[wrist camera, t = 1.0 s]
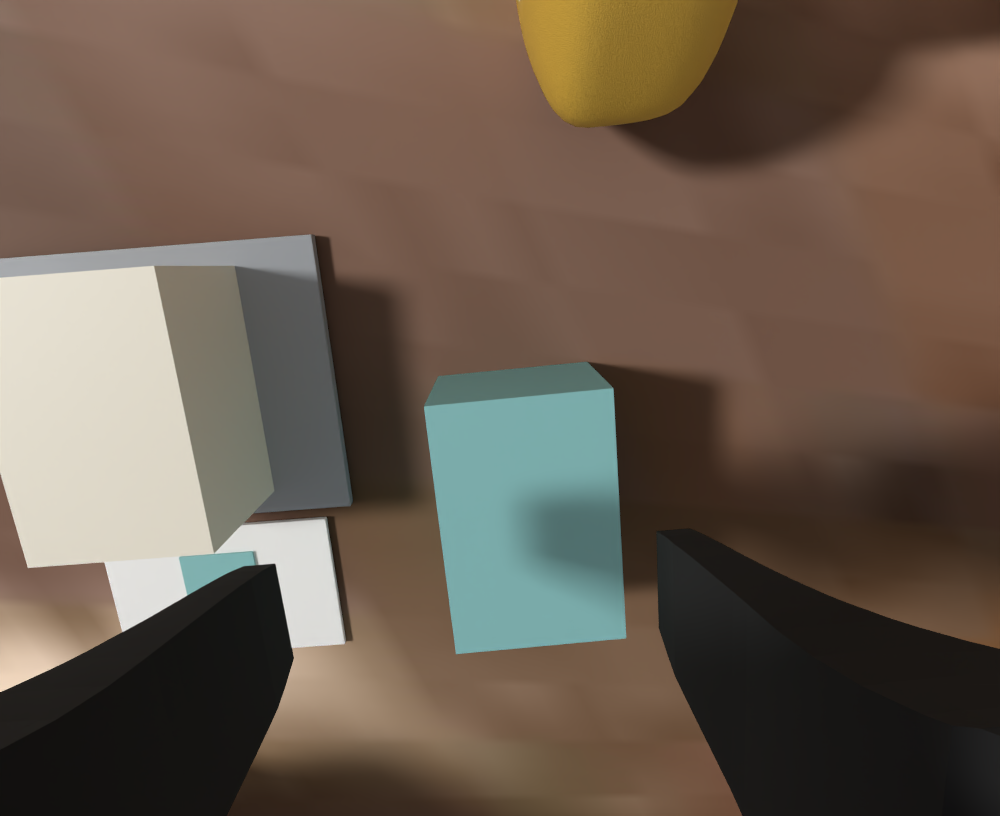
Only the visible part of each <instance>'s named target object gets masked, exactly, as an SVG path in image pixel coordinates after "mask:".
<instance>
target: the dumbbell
mask: <svg viewBox="0 0 1000 816" xmlns="http://www.w3.org/2000/svg"><path fill="white" fill-rule="evenodd" d="M516 2H517V8H518V14H519V19H520V25H521V30H522V34H523V38H524V42H525V46H526V50H527V53H528V56H529V59H530V62H531V65H532V68H533V71H534V73H535V75H536V78H537V80H538V82H539V84H540V87H541V89H542V91H543V93H544V96H545V97H546V99H547V101H548V102H549V104H550V106H551V107H552V109H553V110H554V111H555V112H556V113H557V114H558V115H559V116H560V117H561V118H562V119H563V120H564V121H565V122H567V123H569V124H571V125H573V126H575V127H586V128H590V127H600V126H610V125H620V124H628V123H634V122H640V121H646V120H650V119H654V118H657V117H660V116H663V115H667V114H668V113H670V112H671V111H673V110H675V109H676V108H678V107H680V106H681V105H682V104H683V103H684V102H685V101H686V100H687V99H688V97H689V96H690V95H691V94H692V93H693V91H694V90H695V89H696V88H697V87H698V86H699V84H700V83H701V82H702V80H703V78H704V76H705V74H706V73H707V71H708V69H709V67H710V65H711V64H712V62H713V60H714V58H715V56H716V54H717V53H718V50H719V48H720V46H721V43H722V41H723V39H724V36H725V34H726V31H727V29H728V26H729V23H730V21H731V18H732V15H733V13H734V10H735V7H736V5H737V2H738V0H516Z"/></svg>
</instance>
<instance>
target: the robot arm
mask: <svg viewBox="0 0 1000 816" xmlns="http://www.w3.org/2000/svg"><path fill="white" fill-rule="evenodd" d="M657 572H658V612H659V630H660V633H661V636H662V639H663V642H664V645H665V648H666V651H667V654H668V657H669V660H670V663H671V666H672V668H673V671H674V674H675V677H676V679H677V681H678V683H679V685H680V687H681V689H682V691H683V693H684V695H685V698H686V700H687V702H688V704H689V706H690V708H691V710H692V712H693V714H694V716H695V718H696V720H697V722H698V724H699V726H700V728H701V730H702V732H703V734H704V736H705V738H706V740H707V742H708V744H709V746H710V748H711V750H712V752H713V754H714V756H715V758H716V761H717V763H718V765H719V767H720V769H721V771H722V773H723V775H724V777H725V779H726V781H727V783H728V785H729V787H730V789H731V791H732V793H733V795H734V798H735V800H736V802H737V804H738V807H739V809H740V811H741V813H742V816H1000V649H998V648H993V647H989V646H985V645H981V644H977V643H973V642H969V641H965V640H961V639H958V638H954V637H951V636H947V635H944V634H940V633H937V632H933V631H930V630H926V629H922V628H919V627H915V626H912V625H909V624H906V623H903V622H900V621H897V620H893V619H890V618H887V617H885V616H882V615H879V614H876V613H873V612H871V611H868V610H865V609H862V608H860V607H857V606H854V605H851V604H849V603H846V602H843V601H841V600H838V599H836V598H833V597H831V596H828V595H826V594H824V593H821V592H819V591H817V590H815V589H812V588H810V587H808V586H806V585H803V584H801V583H799V582H797V581H794V580H792V579H790V578H788V577H786V576H784V575H782V574H780V573H778V572H775V571H773V570H771V569H769V568H767V567H765V566H763V565H761V564H759V563H758V562H756V561H754V560H752V559H750V558H748V557H746V556H744V555H742V554H740V553H738V552H736V551H734V550H733V549H731V548H729V547H727V546H725V545H723V544H721V543H719V542H717V541H715V540H713V539H711V538H709V537H708V536H706V535H703V534H701V533H699V532H697V531H695V530H692V529H677V530H665V531H657ZM293 659H294V657H293V651H292V646H291V641H290V636H289V631H288V626H287V621H286V615H285V610H284V605H283V600H282V595H281V590H280V585H279V579H278V574H277V569H276V564H264V565H252V566H243V567H240V568H238V569H236V570H233V571H231V572H229V573H227V574H225V575H223V576H221V577H219V578H217V579H215V580H214V581H212V582H210V583H208V584H206V585H205V586H203V587H201V588H199V589H198V590H196V591H194V592H192V593H191V594H189V595H187V596H186V597H184V598H182V599H180V600H179V601H177V602H175V603H173V604H172V605H170V606H168V607H167V608H165V609H163V610H161V611H160V612H158V613H156V614H154V615H153V616H151V617H149V618H148V619H146V620H144V621H142V622H140V623H138V624H137V625H135V626H133V627H131V628H129V629H127V630H126V631H124V632H122V633H120V634H118V635H116V636H115V637H113V638H111V639H109V640H107V641H105V642H104V643H102V644H100V645H98V646H96V647H94V648H92V649H91V650H89V651H87V652H85V653H83V654H81V655H79V656H77V657H75V658H73V659H71V660H69V661H67V662H65V663H63V664H61V665H59V666H57V667H55V668H53V669H51V670H49V671H46V672H44V673H42V674H40V675H38V676H36V677H33V678H31V679H29V680H27V681H25V682H22V683H20V684H18V685H16V686H14V687H11V688H9V689H7V690H5V691H2V692H0V816H227V814H228V812H229V810H230V808H231V805H232V803H233V801H234V799H235V797H236V795H237V793H238V791H239V789H240V787H241V785H242V783H243V781H244V779H245V777H246V774H247V772H248V770H249V768H250V766H251V764H252V762H253V760H254V758H255V756H256V754H257V752H258V750H259V748H260V745H261V743H262V741H263V739H264V737H265V735H266V733H267V731H268V729H269V726H270V724H271V722H272V720H273V718H274V716H275V713H276V711H277V709H278V706H279V703H280V700H281V697H282V694H283V692H284V689H285V686H286V682H287V679H288V676H289V672H290V669H291V666H292V662H293Z"/></svg>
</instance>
